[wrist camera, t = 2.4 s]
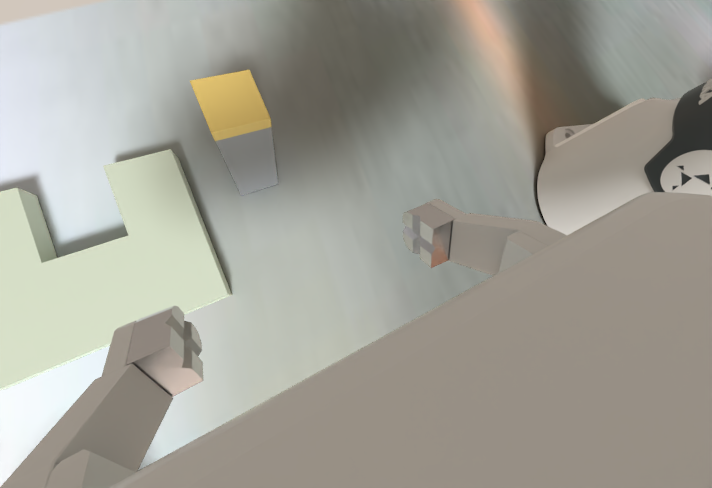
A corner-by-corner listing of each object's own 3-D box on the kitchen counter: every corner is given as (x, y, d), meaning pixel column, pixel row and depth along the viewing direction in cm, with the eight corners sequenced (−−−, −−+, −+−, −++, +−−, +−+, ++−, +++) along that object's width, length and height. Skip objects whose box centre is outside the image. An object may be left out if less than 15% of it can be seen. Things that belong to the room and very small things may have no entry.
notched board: (178, 158, 22) (170, 149, 21) (232, 295, 21) (227, 294, 20) (-45, 217, 18) (-73, 209, 17) (6, 388, 17) (-20, 396, 16)
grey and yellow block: (264, 151, 24) (249, 69, 16) (278, 184, 24) (270, 118, 15) (227, 162, 23) (189, 80, 15) (241, 195, 23) (211, 132, 14)
